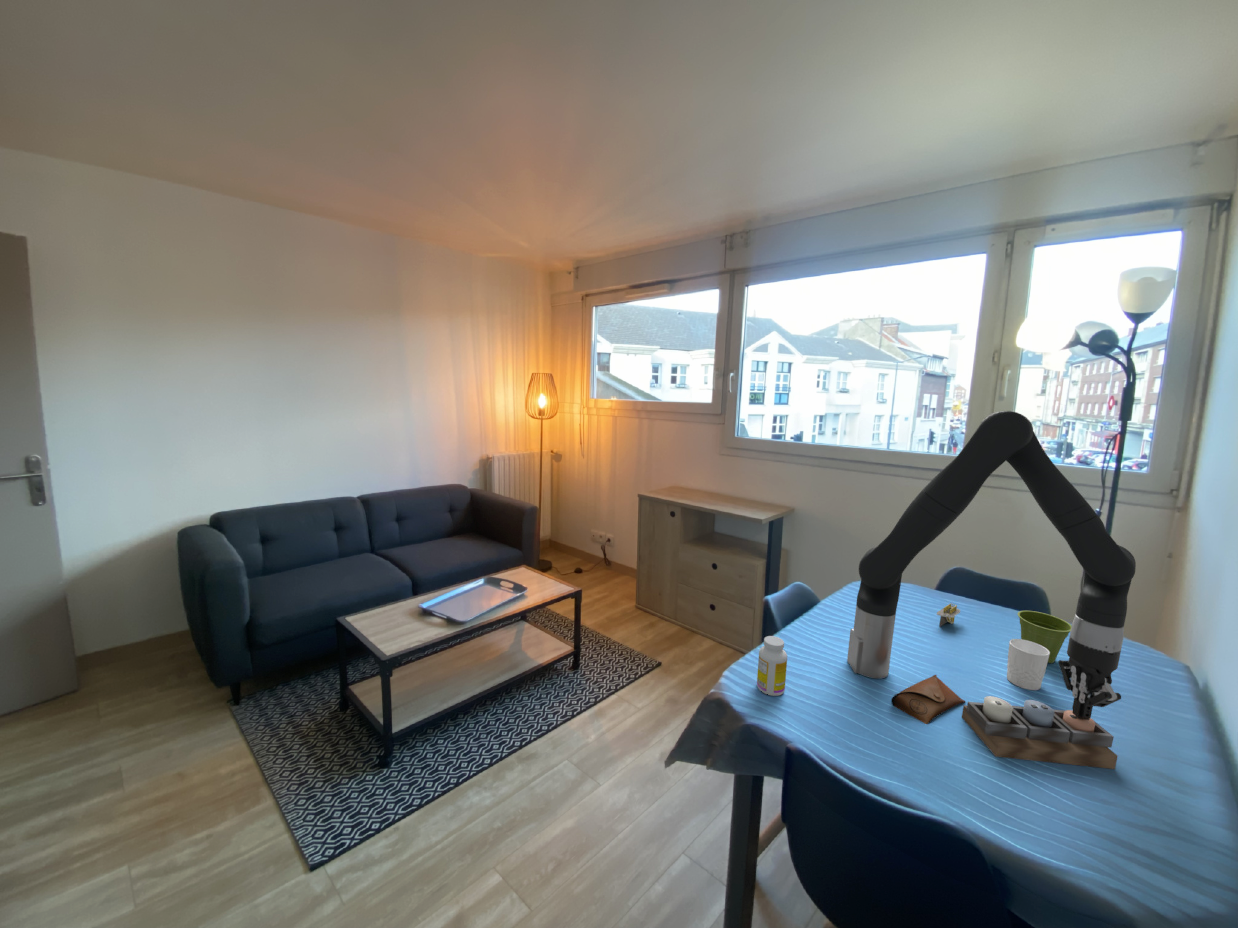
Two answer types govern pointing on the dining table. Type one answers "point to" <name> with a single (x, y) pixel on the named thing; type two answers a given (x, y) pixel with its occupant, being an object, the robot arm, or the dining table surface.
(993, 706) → the button one
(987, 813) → the dining table surface
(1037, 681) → the white cup
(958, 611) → the platform
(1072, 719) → the button three
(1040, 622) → the plant pot
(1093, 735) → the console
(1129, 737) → the dining table surface
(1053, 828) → the dining table surface
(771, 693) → the supplement bottle
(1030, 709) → the button two
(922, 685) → the sunglasses case
